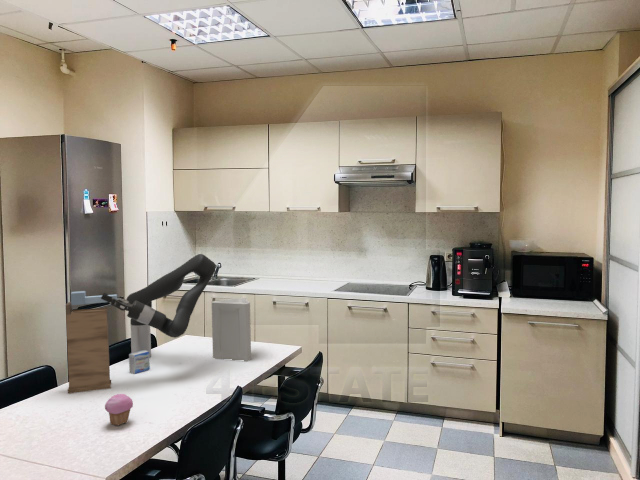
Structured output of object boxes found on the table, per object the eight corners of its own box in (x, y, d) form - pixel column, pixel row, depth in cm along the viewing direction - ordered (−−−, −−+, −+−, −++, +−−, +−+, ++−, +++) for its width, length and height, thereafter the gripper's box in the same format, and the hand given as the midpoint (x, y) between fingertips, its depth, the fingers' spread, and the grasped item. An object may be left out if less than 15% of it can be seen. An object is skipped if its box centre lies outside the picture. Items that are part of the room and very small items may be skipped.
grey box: (260, 353, 255) (259, 298, 254) (247, 361, 241) (246, 304, 240) (226, 350, 261) (225, 297, 260) (212, 358, 247) (210, 302, 245)
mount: (69, 387, 208) (66, 302, 205) (111, 382, 213) (108, 299, 211) (67, 393, 201) (64, 305, 199) (110, 388, 207) (107, 302, 204)
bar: (72, 303, 205) (72, 291, 205) (117, 300, 211) (116, 288, 211) (71, 305, 201) (70, 293, 201) (116, 301, 207) (116, 290, 207)
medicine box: (134, 374, 224) (134, 355, 224) (129, 372, 227) (128, 353, 227) (150, 369, 231) (149, 351, 230) (144, 367, 233) (143, 349, 233)
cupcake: (125, 416, 178) (124, 388, 178) (138, 422, 173) (137, 394, 172) (100, 424, 171) (99, 395, 171) (113, 431, 166) (112, 401, 165)
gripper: (145, 302, 220) (107, 285, 214) (146, 307, 206) (105, 289, 201) (136, 317, 219) (98, 300, 213) (137, 324, 206) (96, 306, 200)
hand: (102, 295), depth 207 cm, fingers closed on bar, 2 cm apart
